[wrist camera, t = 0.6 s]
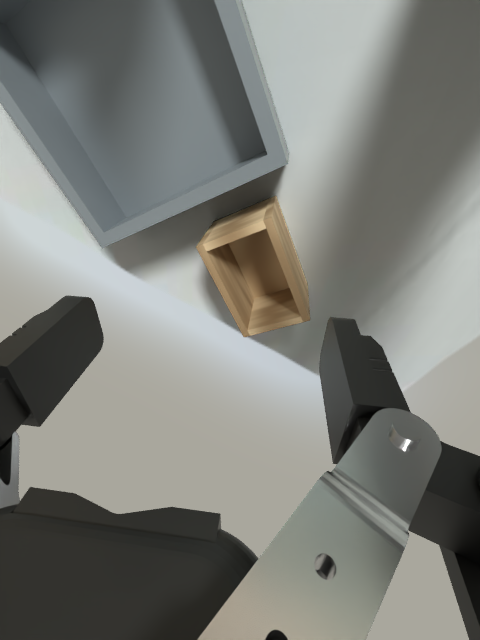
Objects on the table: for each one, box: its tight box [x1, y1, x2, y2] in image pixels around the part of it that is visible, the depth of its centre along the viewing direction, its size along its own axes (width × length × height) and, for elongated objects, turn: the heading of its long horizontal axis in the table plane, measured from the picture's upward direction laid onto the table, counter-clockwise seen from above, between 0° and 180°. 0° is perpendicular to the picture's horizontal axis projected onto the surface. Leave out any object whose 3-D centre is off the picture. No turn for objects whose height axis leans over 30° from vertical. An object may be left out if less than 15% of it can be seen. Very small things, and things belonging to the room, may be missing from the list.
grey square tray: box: [0, 0, 289, 248], centre depth 20 cm, size 16×16×5 cm
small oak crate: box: [196, 196, 310, 337], centre depth 26 cm, size 6×9×6 cm, turn 23°
